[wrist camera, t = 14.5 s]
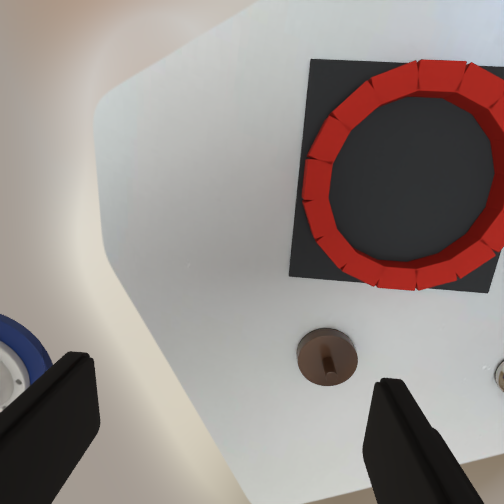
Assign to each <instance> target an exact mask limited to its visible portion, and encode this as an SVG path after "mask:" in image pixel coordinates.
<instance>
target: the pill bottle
mask: <svg viewBox="0 0 504 504" xmlns="http://www.w3.org/2000/svg"><path fill="white" fill-rule="evenodd" d="M496 383H497V384H498V386H499V387H500V389H501V390H502V391H503V392H504V361H503V362H502V363H501V364H500V366H499V367H498V369H497V371H496Z"/></svg>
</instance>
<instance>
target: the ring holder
mask: <svg viewBox="0 0 504 504" xmlns="http://www.w3.org/2000/svg"><path fill="white" fill-rule="evenodd" d="M297 358H298V366H299V369H300V371H301V373H302V374H303V375H304V377H305V378H306V379H308V380H309V381H311V382H312V383H315V384H317V385H322V386H333V385H338V384H340V383H343V382H345V381H346V380H348V379H349V378H350V377H351V376H352V375H353V373H354V372H355V370H356V368H357V363H358V357H357V353H356V350H355V348H354V346H353V344H352V342H351V340H350V339H349V338H348V337H347V336H346V335H345V334H344V333H342V332H340V331H337V330H334V329H327V328H325V329H318V330H315V331H312V332H310V333H309V334H307V335H306V336H305V337H304V338H303V339H302V340H301V342H300V344H299V346H298V349H297Z"/></svg>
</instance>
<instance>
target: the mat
mask: <svg viewBox="0 0 504 504" xmlns="http://www.w3.org/2000/svg"><path fill="white" fill-rule="evenodd" d="M405 64H407V63H396V62H372V61H348V60H323V59H311V62H310V72H309V81H308V91H307V101H306V111H305V121H304V131H303V141H302V150H301V160H300V170H299V180H298V190H297V200H296V210H295V219H294V229H293V239H292V249H291V259H290V269H289V276H290V277H302V278H314V279H325V280H337V281H349V282H361V283H365V282H363V281H361V280H359V279H357V278H355V277H353V276H351V275H349V274H347V273H345V272H343V271H342V270H341V268H340V269H339V268H338V267H337V266H336V265H335V264H334V262H333V261H332V260H331V259H330V258H329V256H328V255H327V254H326V253H325V252H324V251H323V249H322V248H321V247H320V246H319V245H318V244H317V242H316V241H315V239H314V237H313V235H312V233H311V229H310V226H309V223H308V219H307V216H306V213H305V209H304V206H303V203H302V200H304V199H303V198H302V188H303V178H304V169H305V160H306V159H311V158H309V157H307V154H308V152H309V150H310V148H311V146H312V144H313V142H314V140H315V138H316V137H317V135H318V133H319V131H320V129H321V127H322V125H323V123H324V121H325V119H327V118H328V115H329V114H330V113H331V112H332V111H334V110H335V109H336V108H337V107H338V106H339V105H340V104H341V103H342V102H343V101H345V100H346V99H347V98H348V97H349V96H350V95H351V94H352V93H353V92H354V91H356V90H357V89H358V88H359V87H360V86H361V85H362V84H363V83H364V82H365V81H368V80H369V79H370V78H371V77H374V76H376V75H379V74H381V73H384V72H387V71H389V70H392V69H394V68H397V67H400V66H402V65H405ZM479 67H481V68H483V69H485V70H487V71H488V72H490V73H492V74H494V75H496V76H497V77H499V78H501V79H503V80H504V67H493V66H479ZM494 174H495V171H494V164H493V157H492V150H491V143H490V140H489V138H488V137H487V135H486V134H485V132H484V131H483V129H482V128H481V127H480V125H479V124H478V122H477V121H476V119H475V118H474V116H473V115H472V114H471V113H469V112H467V111H465V110H463V109H461V108H460V107H458V106H456V105H454V104H452V103H450V102H448V101H447V100H445V99H443V98H428V97H405V98H402V99H399V100H397V101H394V102H391V103H389V104H386V105H383V106H381V107H378V108H376V109H375V110H374V111H373V112H372V113H371V114H369V115H368V116H367V117H366V118H365V119H364V120H363V121H361V122H360V123H359V124H358V125H357V126H356V127H355V128H353V129H352V130H351V131H350V133H349V135H348V137H347V139H346V141H345V142H344V144H343V146H342V148H341V150H340V152H339V153H338V155H337V157H336V159H335V161H334V163H333V166H332V174H331V182H330V190H329V197H328V198H329V202H330V206H331V209H332V213H333V216H334V220H335V224H336V227H337V229H338V231H339V232H340V233H341V234H342V235H343V237H344V238H345V239H346V240H347V242H348V243H349V244H350V245H351V246H352V247H353V248H355V249H357V250H359V251H361V252H363V253H365V254H367V255H369V256H371V257H373V258H375V259H377V260H387V261H400V262H409V261H412V260H416V259H419V258H423V257H427V256H430V255H434V254H437V253H439V252H441V251H442V250H443V249H445V248H446V247H448V246H449V245H451V244H452V243H453V242H455V241H456V240H458V239H459V238H461V237H462V236H464V235H465V234H466V233H467V232H468V230H469V229H470V228H471V226H472V225H473V223H474V222H475V221H476V219H477V218H478V217H479V215H480V214H481V213H482V211H483V210H484V208H485V207H486V203H487V200H488V196H489V192H490V189H491V185H492V182H493V178H494ZM492 251H493V250H492ZM493 252H494V253H495V255H496V256H494V257H493V258H491V259H490V260H488V261H487V262H485V263H484V264H482V265H481V266H479V267H478V268H476V269H475V270H473V271H472V272H470V273H469V274H467V275H466V276H464V277H463V278H461V279H460V278H459V277H457V276H456V277H457V281H453V282H449V283H445V284H442V285H438V286H434V287H430V288H431V289H443V290H455V291H467V292H478V293H488V292H489V288H490V285H491V282H492V279H493V275H494V272H495V269H496V266H497V262H498V259H499V256H500V253H501V251H500V252H496V251H493Z"/></svg>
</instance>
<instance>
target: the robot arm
mask: <svg viewBox="0 0 504 504" xmlns="http://www.w3.org/2000/svg"><path fill="white" fill-rule="evenodd" d="M96 386H97V385H96V377H95V367H94V360H93V358H90V356H89V354H88V353H83V352H72V351H71V352H68V353H66V354H65V355H64V356H63V357H62V358H61V359H60V360H58V361H57V362H56V363H55V364H54V365H53V366H52V367H50V368H49V369H48V370H47V371H46V372H45V373H44V374H43V375H42V376H40V377H39V378H38V379H37V380H36V381H35V382H34V383H33V384H31V385H30V379H29V374H28V371H27V368H26V366H25V364H24V363H23V361H22V360H21V358H20V357H19V356H18V354H17V353H16V352H15V351H14V350H12V349H11V348H10V347H9V346H8V345H6V344H5V343H3V342H2V341H0V504H51V503H52V502H53V500H54V499H55V497H56V495H57V494H58V492H59V491H60V489H61V488H62V486H63V485H64V483H65V482H66V480H67V478H68V477H69V476H70V474H71V473H72V471H73V470H74V468H75V467H76V465H77V464H78V462H79V461H80V459H81V458H82V456H83V455H84V453H85V451H86V450H87V448H88V447H89V445H90V444H91V442H92V441H93V439H94V438H95V436H96V435H97V433H98V430H99V427H100V414H99V406H98V405H99V404H98V395H97V387H96ZM363 459H364V462H365V466H366V469H367V472H368V475H369V478H370V481H371V485H372V488H373V491H374V494H375V497H376V500H377V503H378V504H484V503H483V501H482V499H481V498H480V496H479V495H478V493H477V491H476V490H475V488H474V487H473V485H472V484H471V482H470V480H469V479H468V477H467V476H466V474H465V473H464V471H463V469H462V468H461V467H460V465H459V463H458V462H457V460H456V458H455V457H454V455H453V454H452V452H451V451H450V449H449V447H448V446H447V444H446V443H445V441H444V440H443V438H442V436H441V435H440V434H439V432H438V431H437V430H436V429H434V428H432V427H431V425H430V423H429V422H428V420H427V419H426V417H425V415H424V414H423V412H422V411H421V409H420V407H419V406H418V404H417V403H416V401H415V399H414V398H413V396H412V394H411V393H410V391H409V390H408V388H407V386H406V385H405V383H404V382H403V381H402V380H401V379H392V378H382V379H381V380H380V382H376V383H375V386H374V391H373V396H372V401H371V406H370V411H369V416H368V422H367V427H366V432H365V437H364V442H363Z"/></svg>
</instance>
